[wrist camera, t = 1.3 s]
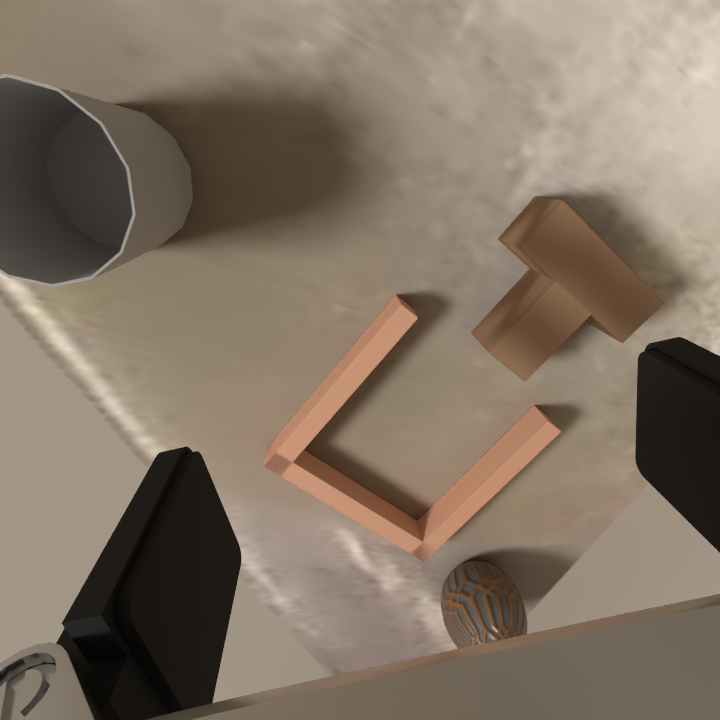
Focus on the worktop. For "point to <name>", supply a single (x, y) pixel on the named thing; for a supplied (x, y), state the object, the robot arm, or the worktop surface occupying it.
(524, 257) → the t block
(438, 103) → the worktop surface
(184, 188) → the cup
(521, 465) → the frame
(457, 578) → the vase
